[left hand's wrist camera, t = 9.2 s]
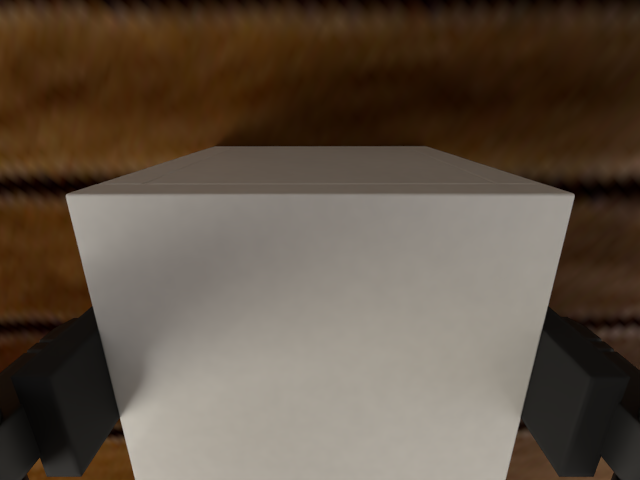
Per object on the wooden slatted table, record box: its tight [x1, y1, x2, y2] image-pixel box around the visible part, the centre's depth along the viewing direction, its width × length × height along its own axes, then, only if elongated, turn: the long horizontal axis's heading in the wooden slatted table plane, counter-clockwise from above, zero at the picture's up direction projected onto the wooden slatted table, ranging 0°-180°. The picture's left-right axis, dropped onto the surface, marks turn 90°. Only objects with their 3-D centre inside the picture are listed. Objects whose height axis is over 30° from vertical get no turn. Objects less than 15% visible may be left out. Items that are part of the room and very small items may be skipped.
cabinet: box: [66, 146, 575, 480], centre depth 16 cm, size 20×10×11 cm, turn 0°
